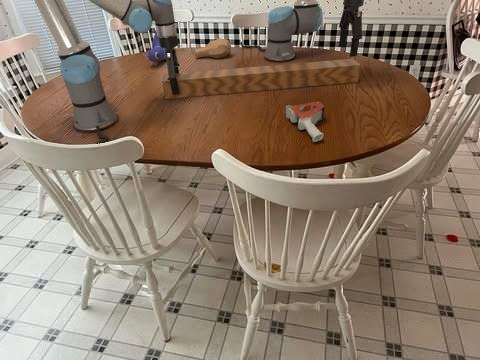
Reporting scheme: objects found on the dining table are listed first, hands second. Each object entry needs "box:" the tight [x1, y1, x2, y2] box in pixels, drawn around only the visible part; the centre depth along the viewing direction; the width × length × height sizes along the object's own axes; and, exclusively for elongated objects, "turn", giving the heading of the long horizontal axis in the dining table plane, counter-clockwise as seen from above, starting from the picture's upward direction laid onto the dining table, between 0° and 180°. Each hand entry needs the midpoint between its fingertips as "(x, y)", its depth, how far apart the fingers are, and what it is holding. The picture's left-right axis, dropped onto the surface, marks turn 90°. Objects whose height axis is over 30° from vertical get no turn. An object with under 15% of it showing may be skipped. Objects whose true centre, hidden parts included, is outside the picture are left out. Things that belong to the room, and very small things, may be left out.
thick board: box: [161, 58, 361, 100], centre depth 151 cm, size 82×8×8 cm, turn 95°
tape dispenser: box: [285, 100, 325, 143], centre depth 121 cm, size 18×5×20 cm
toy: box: [146, 30, 166, 67], centre depth 185 cm, size 10×17×25 cm
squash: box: [194, 37, 232, 59], centre depth 188 cm, size 11×20×9 cm, turn 92°
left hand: (176, 88), depth 150 cm, fingers open, 13 cm apart
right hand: (347, 51), depth 148 cm, fingers open, 13 cm apart
